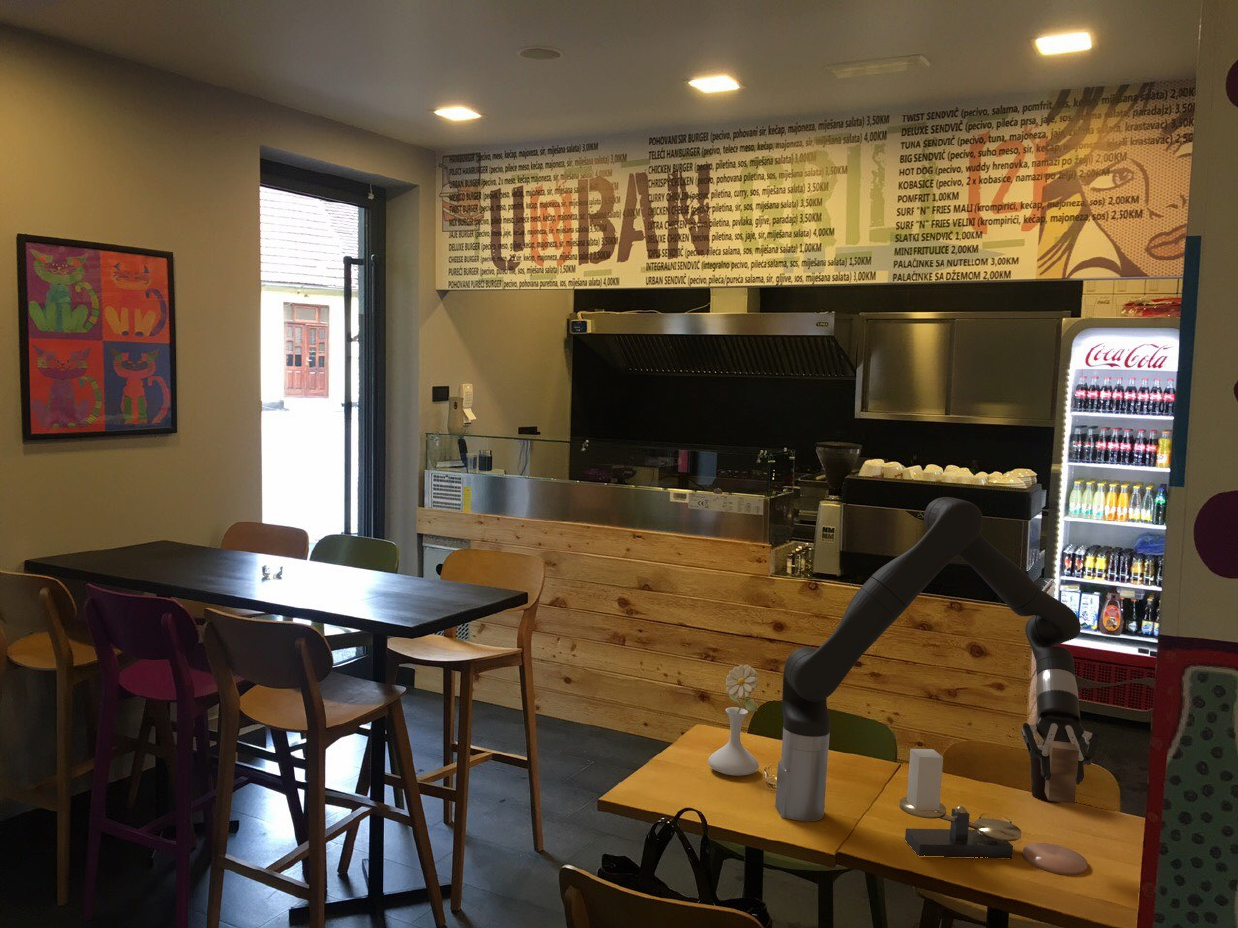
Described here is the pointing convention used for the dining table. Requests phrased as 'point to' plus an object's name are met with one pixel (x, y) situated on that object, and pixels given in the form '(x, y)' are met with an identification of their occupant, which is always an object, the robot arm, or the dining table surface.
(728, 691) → the flower in vase
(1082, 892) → the dining table surface
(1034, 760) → the coffee mug
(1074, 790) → the walnut block
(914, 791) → the pale block
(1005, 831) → the balance
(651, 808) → the dining table surface
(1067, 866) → the saucer
